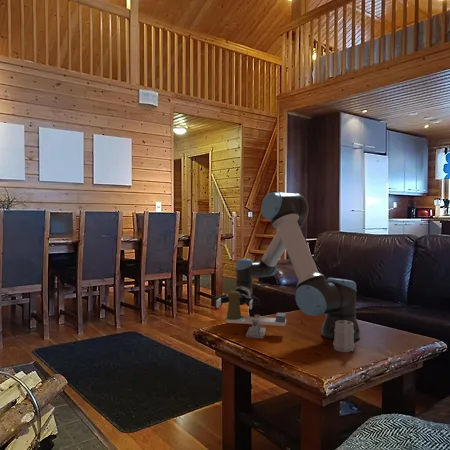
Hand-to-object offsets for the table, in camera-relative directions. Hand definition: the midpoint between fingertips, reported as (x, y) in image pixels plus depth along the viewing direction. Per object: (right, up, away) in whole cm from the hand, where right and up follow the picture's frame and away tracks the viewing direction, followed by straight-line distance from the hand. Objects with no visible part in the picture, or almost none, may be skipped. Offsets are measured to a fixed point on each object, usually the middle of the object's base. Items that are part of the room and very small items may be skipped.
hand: (233, 305), depth 172 cm
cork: (0, -6, +4) cm, 7 cm away
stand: (+9, -12, +2) cm, 15 cm away
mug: (+40, -13, -19) cm, 46 cm away
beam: (+9, -7, +2) cm, 12 cm away
